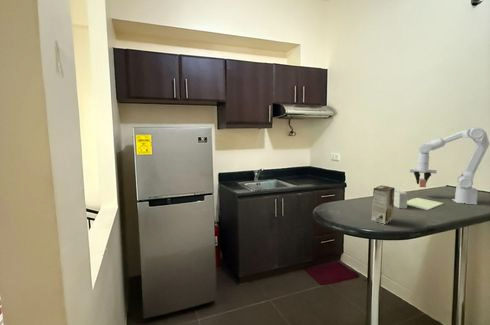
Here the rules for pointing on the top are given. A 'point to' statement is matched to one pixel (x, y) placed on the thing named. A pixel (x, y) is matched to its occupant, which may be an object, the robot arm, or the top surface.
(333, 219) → the top surface
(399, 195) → the medicine box
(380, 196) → the coffee box
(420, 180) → the card deck
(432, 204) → the sage mat
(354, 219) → the top surface
